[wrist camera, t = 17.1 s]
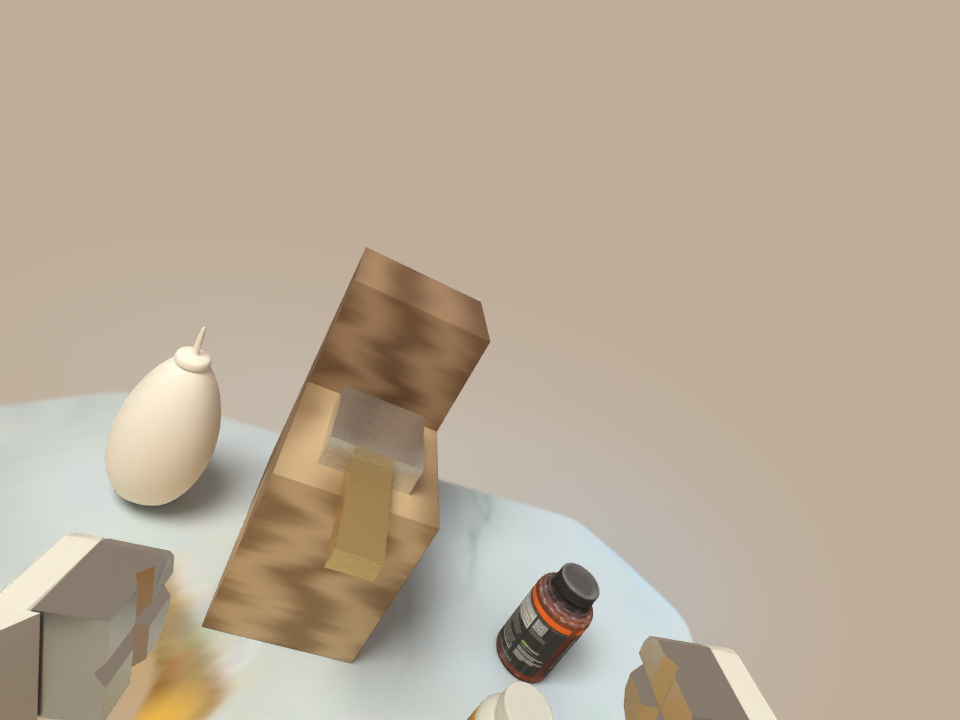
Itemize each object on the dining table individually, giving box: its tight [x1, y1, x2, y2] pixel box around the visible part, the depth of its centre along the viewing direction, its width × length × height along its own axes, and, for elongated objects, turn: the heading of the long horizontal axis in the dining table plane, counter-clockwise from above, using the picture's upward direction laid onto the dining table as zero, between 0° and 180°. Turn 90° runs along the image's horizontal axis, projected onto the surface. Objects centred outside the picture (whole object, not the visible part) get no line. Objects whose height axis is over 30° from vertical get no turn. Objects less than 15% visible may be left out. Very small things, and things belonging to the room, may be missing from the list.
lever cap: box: [317, 385, 424, 582], centre depth 38 cm, size 7×16×2 cm, turn 5°
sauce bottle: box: [105, 327, 221, 506], centre depth 45 cm, size 8×8×18 cm
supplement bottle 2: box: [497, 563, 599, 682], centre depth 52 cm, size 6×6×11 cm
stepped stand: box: [202, 248, 490, 663], centre depth 48 cm, size 12×21×26 cm, turn 6°
